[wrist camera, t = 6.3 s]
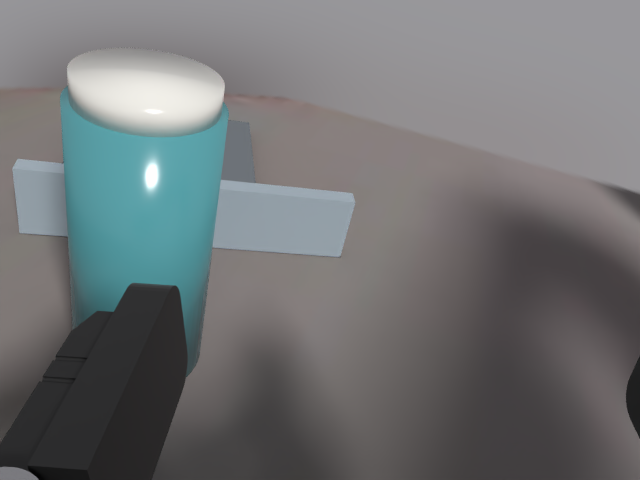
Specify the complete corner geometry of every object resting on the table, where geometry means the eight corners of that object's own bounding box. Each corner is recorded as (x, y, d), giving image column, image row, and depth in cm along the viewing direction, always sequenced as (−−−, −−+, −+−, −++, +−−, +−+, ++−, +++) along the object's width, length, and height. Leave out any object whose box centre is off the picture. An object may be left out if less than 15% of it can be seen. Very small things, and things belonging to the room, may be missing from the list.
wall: (337, 247, 36) (352, 193, 34) (339, 257, 35) (355, 202, 33) (24, 222, 32) (17, 158, 30) (19, 232, 31) (12, 168, 29)
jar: (201, 309, 29) (230, 59, 22) (198, 396, 25) (234, 121, 18) (86, 303, 28) (76, 35, 21) (62, 394, 24) (39, 96, 16)
